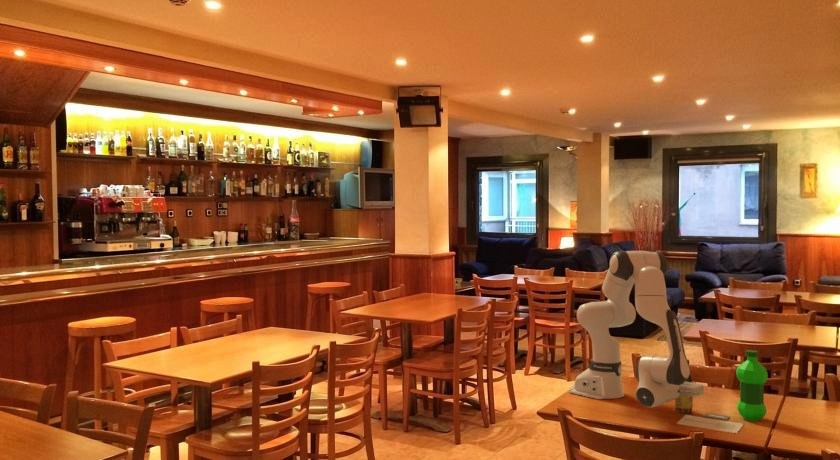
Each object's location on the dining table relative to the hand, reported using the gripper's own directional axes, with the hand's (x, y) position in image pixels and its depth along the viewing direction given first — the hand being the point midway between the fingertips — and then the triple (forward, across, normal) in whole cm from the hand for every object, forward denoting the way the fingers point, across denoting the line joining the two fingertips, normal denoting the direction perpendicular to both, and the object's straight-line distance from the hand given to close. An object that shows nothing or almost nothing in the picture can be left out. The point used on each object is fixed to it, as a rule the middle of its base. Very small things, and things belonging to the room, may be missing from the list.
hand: (684, 382), depth 264 cm
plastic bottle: (+8, -22, +11) cm, 26 cm away
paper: (-9, -14, +11) cm, 20 cm away
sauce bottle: (-1, 0, +11) cm, 11 cm away
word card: (+1, -12, +11) cm, 16 cm away
